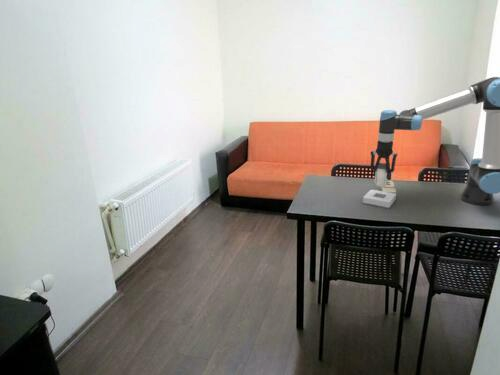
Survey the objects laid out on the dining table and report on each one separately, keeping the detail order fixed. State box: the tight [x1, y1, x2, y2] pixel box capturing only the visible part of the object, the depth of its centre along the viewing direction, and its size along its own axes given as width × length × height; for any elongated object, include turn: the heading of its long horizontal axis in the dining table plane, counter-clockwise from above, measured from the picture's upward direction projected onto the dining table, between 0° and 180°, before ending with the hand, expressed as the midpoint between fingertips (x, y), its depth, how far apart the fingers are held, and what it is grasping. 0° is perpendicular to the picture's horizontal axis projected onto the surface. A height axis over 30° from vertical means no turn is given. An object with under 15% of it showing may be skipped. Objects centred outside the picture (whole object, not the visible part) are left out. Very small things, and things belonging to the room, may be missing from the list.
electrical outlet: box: [379, 180, 397, 195], centre depth 207 cm, size 7×4×18 cm
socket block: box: [362, 189, 397, 209], centre depth 193 cm, size 14×14×4 cm
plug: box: [375, 162, 387, 188], centre depth 188 cm, size 5×5×12 cm
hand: (380, 182), depth 189 cm, fingers closed on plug, 4 cm apart
